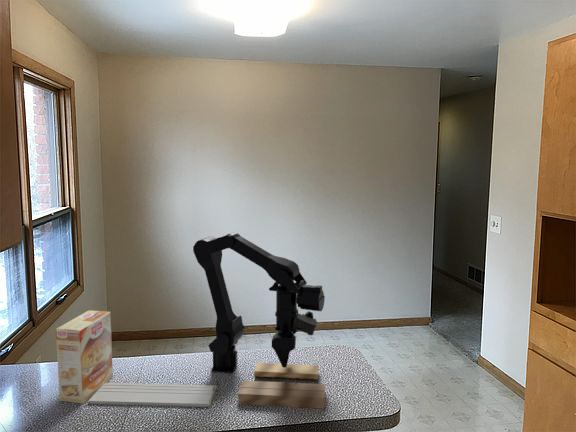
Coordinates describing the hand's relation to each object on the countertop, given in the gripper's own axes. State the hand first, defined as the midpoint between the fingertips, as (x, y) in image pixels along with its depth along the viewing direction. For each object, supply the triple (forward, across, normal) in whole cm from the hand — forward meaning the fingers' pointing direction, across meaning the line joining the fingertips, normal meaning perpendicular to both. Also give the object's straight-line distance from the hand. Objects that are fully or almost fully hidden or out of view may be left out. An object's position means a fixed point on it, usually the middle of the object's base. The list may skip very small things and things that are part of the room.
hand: (286, 359), depth 132 cm
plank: (+6, +1, 0) cm, 6 cm away
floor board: (+5, -12, 0) cm, 13 cm away
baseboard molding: (+6, -12, +34) cm, 36 cm away
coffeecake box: (+6, -11, +53) cm, 54 cm away
